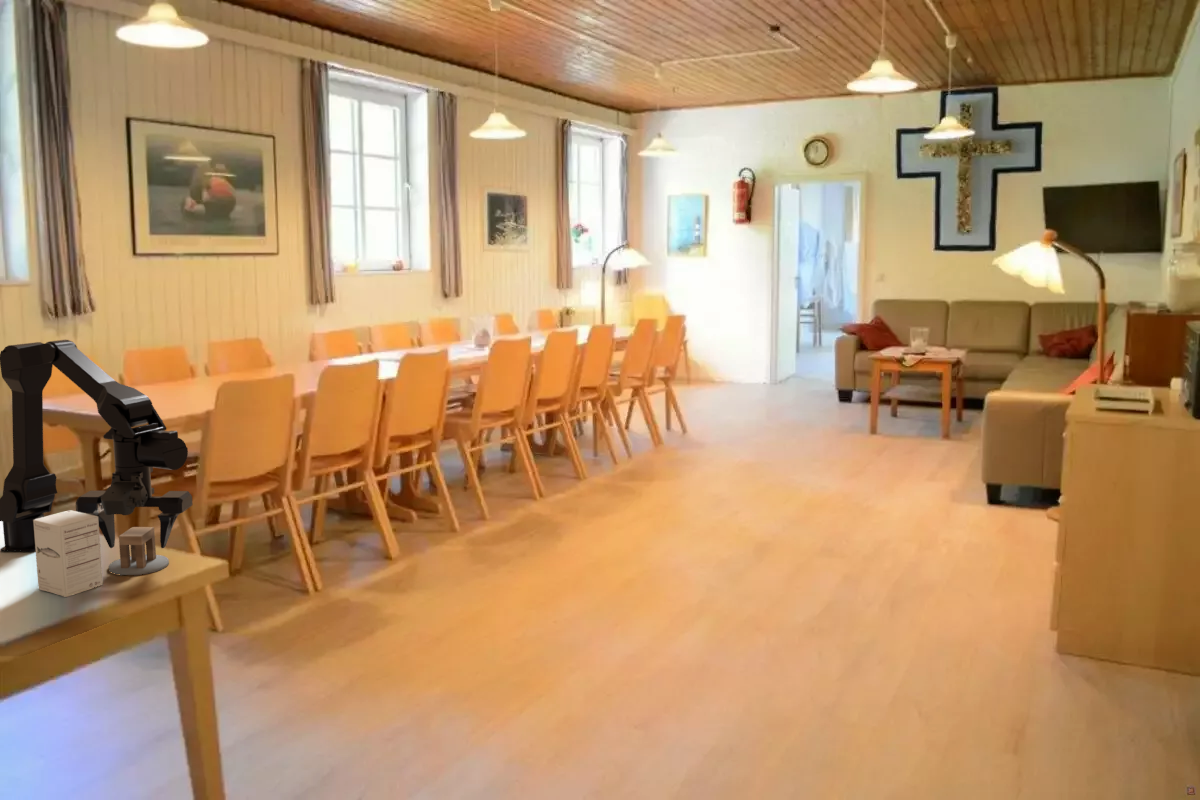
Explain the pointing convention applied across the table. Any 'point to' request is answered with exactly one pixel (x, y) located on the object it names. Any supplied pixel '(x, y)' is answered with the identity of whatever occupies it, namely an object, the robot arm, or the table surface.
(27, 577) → the table surface
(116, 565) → the slate mat
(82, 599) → the table surface
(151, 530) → the walnut stool
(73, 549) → the supplement box
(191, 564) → the table surface
